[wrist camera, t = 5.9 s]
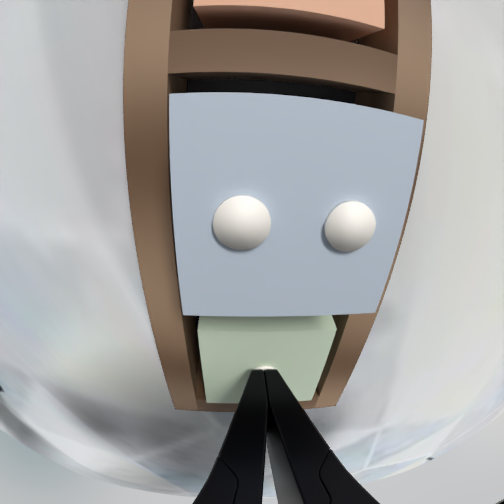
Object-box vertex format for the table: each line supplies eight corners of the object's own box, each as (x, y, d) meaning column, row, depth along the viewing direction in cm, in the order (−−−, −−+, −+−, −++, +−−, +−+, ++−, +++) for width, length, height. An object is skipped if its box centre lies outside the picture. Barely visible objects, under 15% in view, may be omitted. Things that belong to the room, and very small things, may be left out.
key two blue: (345, 259, 8) (377, 316, 6) (195, 257, 7) (182, 319, 5) (370, 109, 6) (427, 121, 4) (191, 94, 6) (167, 94, 4)
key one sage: (302, 358, 12) (311, 402, 10) (209, 359, 12) (206, 405, 10) (320, 285, 10) (337, 331, 8) (204, 284, 10) (197, 333, 8)
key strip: (324, 364, 14) (335, 405, 11) (181, 366, 13) (175, 409, 11) (382, -67, 4) (415, -92, 2) (173, -89, 4) (158, -125, 2)
